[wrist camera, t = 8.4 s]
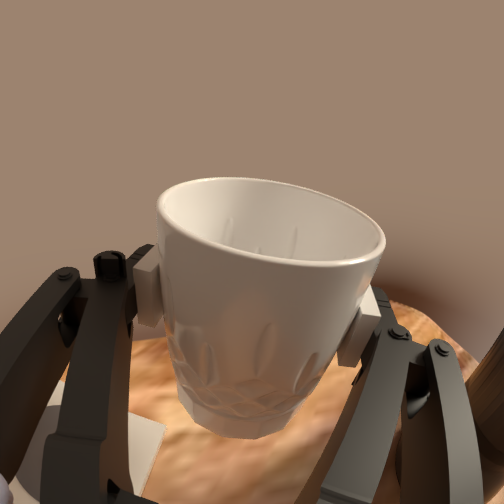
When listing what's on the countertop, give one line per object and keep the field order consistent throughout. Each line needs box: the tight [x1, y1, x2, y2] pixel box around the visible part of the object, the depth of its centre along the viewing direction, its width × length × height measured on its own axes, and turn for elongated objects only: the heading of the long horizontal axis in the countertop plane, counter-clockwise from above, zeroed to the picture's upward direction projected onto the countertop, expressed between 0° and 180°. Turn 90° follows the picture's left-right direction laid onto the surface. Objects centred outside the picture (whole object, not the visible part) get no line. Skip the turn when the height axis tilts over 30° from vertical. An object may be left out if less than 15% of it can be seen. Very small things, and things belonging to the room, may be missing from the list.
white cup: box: [156, 177, 386, 440], centre depth 12 cm, size 8×8×10 cm
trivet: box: [8, 380, 167, 504], centre depth 16 cm, size 15×15×1 cm
